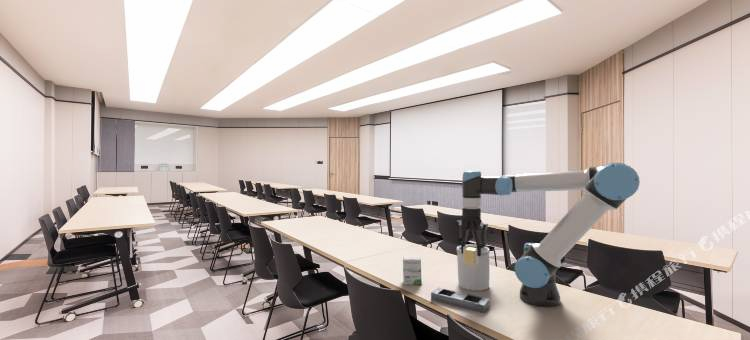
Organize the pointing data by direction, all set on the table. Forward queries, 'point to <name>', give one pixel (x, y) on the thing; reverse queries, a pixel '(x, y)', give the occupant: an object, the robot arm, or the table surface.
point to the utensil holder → (474, 271)
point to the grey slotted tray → (461, 299)
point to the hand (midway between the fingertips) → (471, 262)
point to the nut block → (469, 256)
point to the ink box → (412, 271)
